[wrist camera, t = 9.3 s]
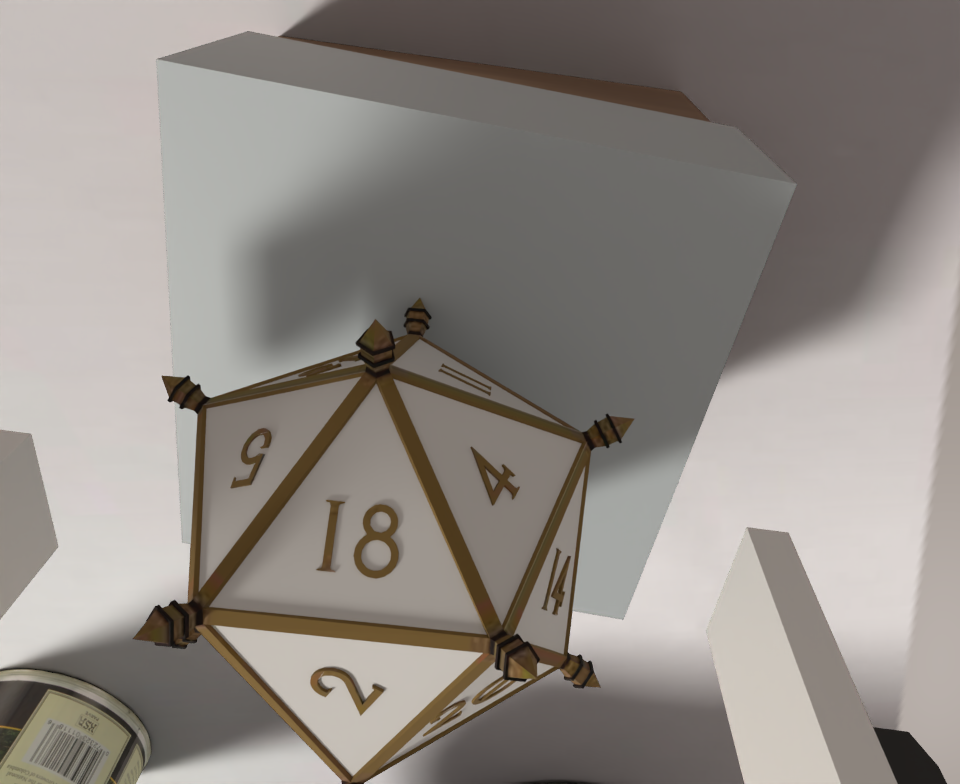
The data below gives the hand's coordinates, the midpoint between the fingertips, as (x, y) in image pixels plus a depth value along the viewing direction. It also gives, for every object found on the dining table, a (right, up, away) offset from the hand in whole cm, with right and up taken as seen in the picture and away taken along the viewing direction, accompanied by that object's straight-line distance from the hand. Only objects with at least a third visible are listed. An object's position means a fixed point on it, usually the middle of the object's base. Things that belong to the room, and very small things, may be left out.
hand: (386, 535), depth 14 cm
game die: (0, +2, +3) cm, 4 cm away
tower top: (+1, +5, +7) cm, 9 cm away
